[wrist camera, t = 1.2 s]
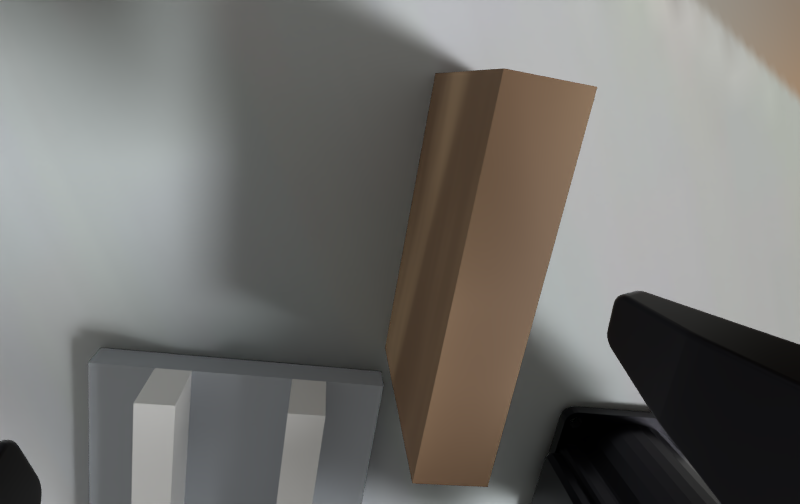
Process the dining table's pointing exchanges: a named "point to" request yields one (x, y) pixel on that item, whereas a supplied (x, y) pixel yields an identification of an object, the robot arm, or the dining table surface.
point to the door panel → (477, 260)
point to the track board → (227, 430)
